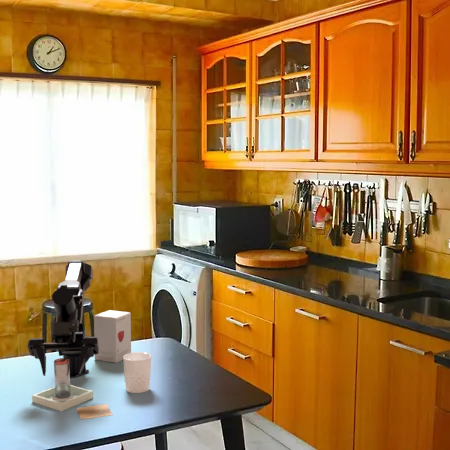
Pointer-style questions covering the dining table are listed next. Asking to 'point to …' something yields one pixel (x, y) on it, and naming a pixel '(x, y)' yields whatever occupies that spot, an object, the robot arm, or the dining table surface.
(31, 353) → the robot arm
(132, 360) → the white cup
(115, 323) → the supplement box
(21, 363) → the dining table surface
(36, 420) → the dining table surface
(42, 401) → the tray
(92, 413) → the keeper plate
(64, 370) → the clear shaker bottle
